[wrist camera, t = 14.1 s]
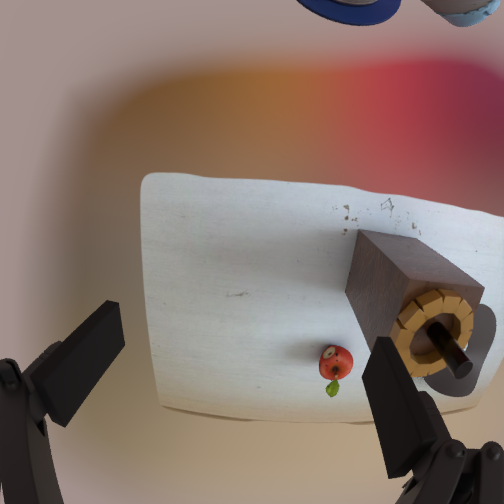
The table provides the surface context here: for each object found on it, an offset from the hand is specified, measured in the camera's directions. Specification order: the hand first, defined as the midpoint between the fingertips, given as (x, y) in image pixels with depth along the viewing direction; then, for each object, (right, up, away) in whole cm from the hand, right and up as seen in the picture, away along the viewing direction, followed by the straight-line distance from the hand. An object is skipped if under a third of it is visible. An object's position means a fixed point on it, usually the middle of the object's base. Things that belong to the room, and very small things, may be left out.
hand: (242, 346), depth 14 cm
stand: (+24, +2, +36) cm, 43 cm away
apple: (+17, -16, +42) cm, 48 cm away
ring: (+21, -5, +15) cm, 26 cm away
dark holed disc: (+51, -17, +39) cm, 67 cm away
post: (+22, -5, +15) cm, 27 cm away
